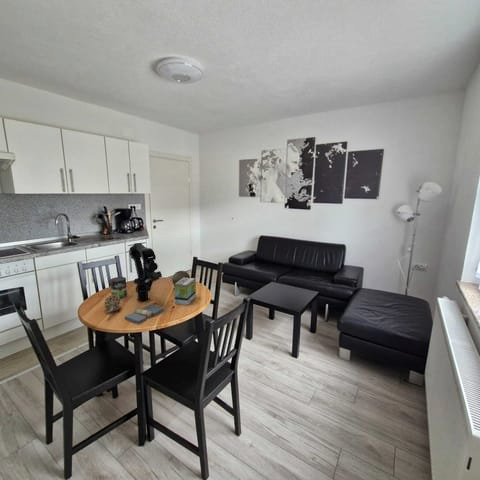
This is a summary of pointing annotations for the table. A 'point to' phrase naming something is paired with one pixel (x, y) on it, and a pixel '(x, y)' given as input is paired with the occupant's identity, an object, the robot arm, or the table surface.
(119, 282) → the coffee can
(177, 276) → the cantaloupe
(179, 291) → the tea box
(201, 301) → the table surface
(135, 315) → the slate board
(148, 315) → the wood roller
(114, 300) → the pine cone
